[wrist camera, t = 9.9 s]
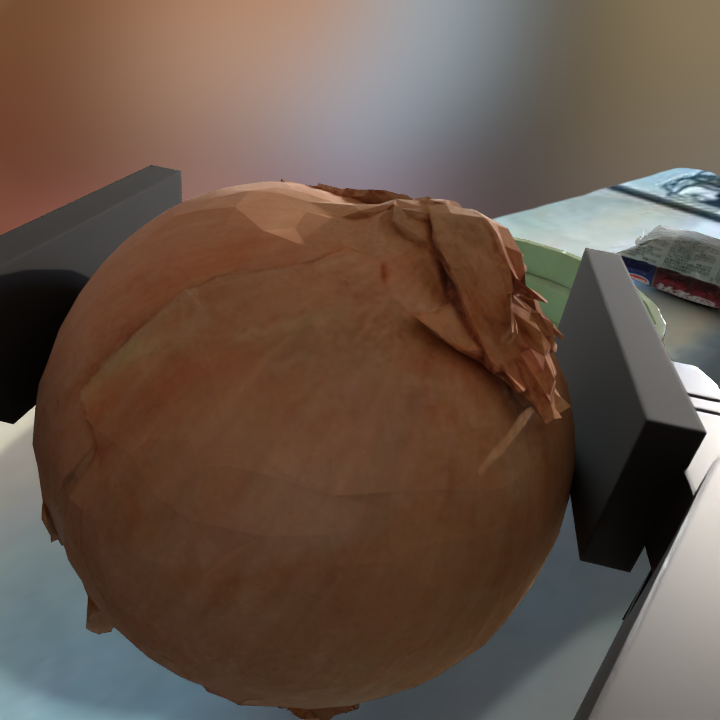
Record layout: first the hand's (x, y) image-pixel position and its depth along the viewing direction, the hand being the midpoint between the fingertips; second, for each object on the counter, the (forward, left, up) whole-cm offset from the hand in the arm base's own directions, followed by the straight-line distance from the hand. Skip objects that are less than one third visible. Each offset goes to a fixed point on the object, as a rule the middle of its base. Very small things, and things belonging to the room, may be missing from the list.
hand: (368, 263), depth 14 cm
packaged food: (+34, +32, -14) cm, 48 cm away
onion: (-1, -4, -6) cm, 8 cm away
